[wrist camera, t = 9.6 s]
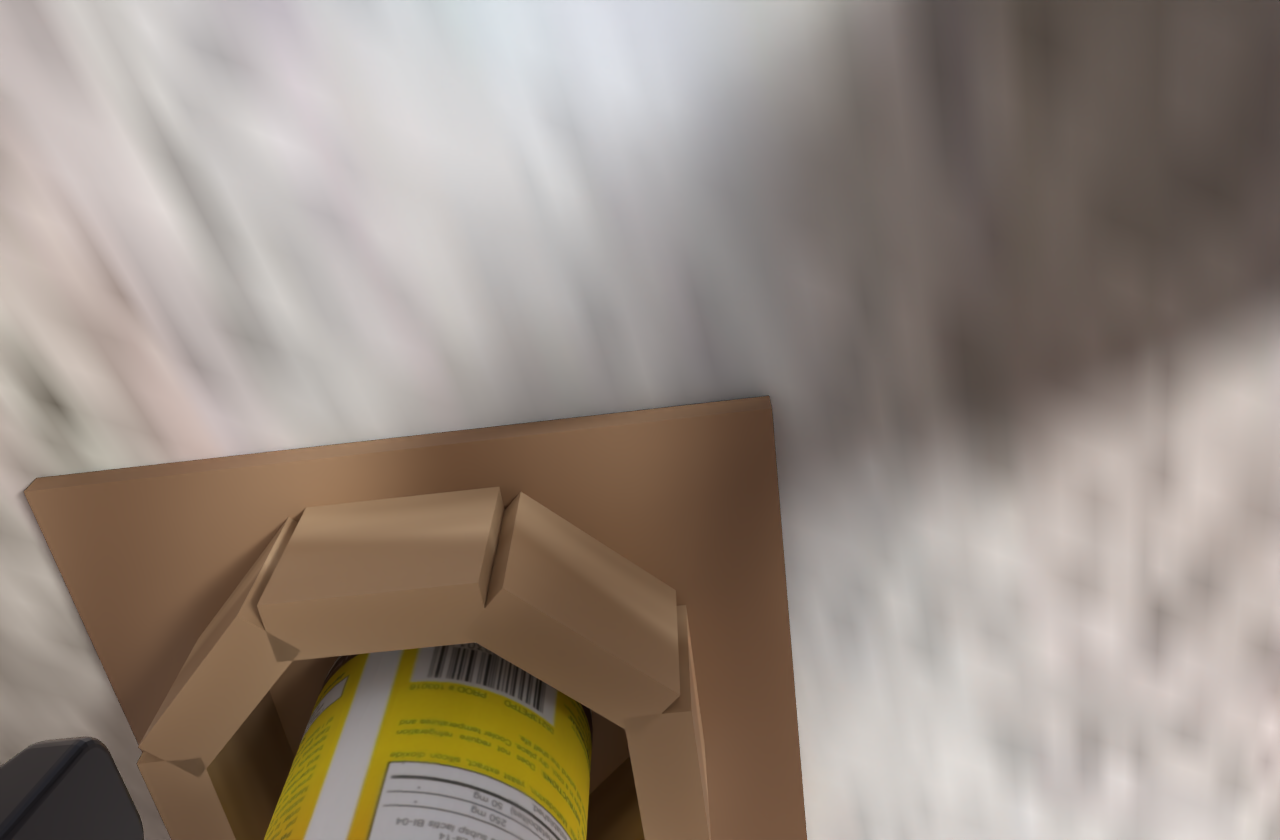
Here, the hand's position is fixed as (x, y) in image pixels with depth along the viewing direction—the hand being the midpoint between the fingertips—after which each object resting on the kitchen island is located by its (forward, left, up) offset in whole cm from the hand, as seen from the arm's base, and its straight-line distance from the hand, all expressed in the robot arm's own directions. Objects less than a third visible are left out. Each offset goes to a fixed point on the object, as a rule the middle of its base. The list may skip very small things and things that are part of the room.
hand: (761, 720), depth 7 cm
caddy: (+6, +10, -12) cm, 17 cm away
